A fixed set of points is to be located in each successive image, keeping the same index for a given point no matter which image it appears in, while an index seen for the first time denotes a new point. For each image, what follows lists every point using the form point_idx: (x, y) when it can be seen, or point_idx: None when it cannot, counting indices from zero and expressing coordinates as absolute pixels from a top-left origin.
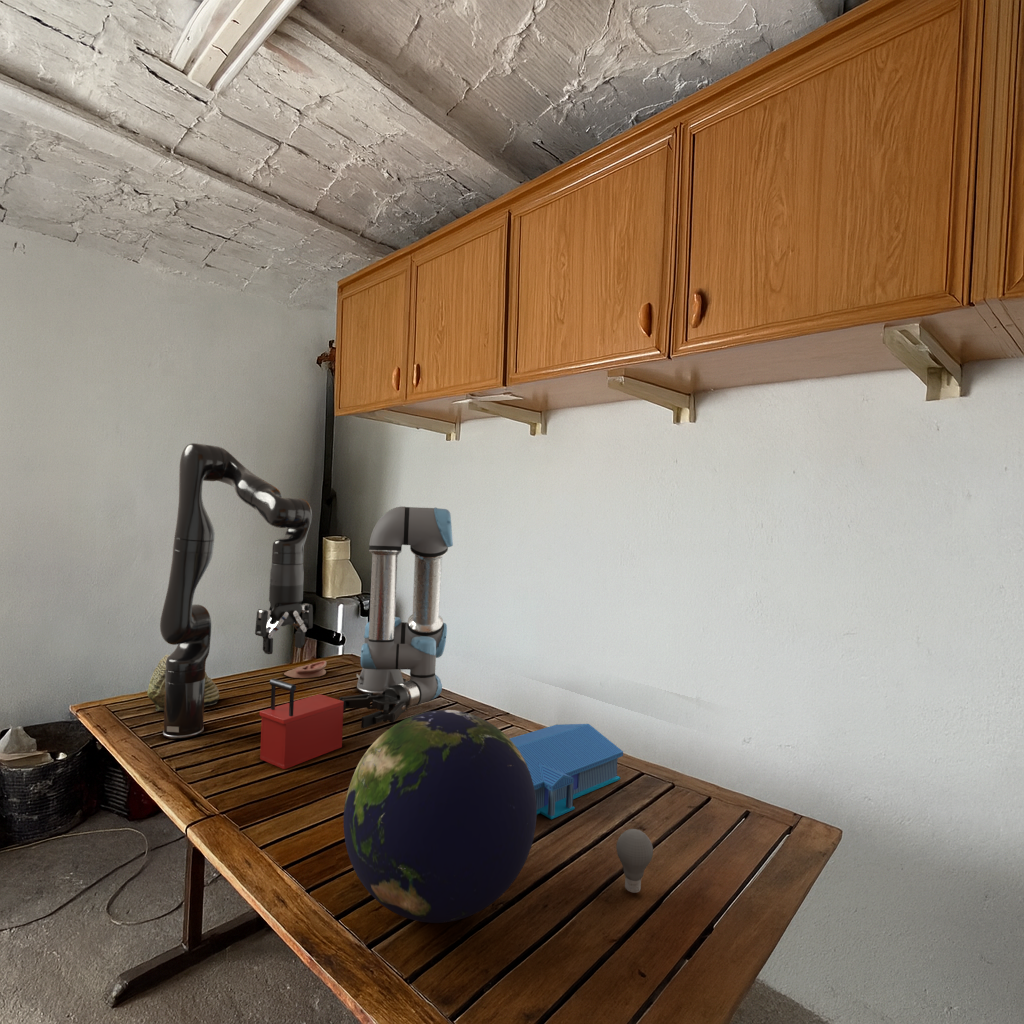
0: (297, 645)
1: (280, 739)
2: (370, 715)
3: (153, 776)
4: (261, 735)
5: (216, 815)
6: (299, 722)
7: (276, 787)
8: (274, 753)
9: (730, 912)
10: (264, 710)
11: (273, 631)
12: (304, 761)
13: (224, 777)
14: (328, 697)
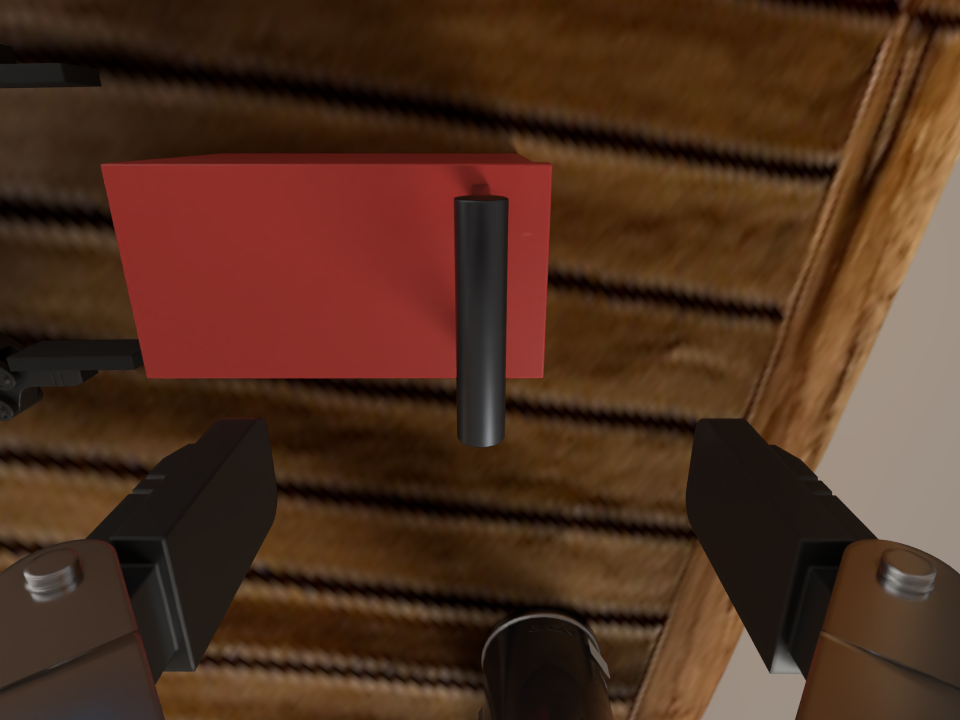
0: (264, 484)
1: None
2: (6, 65)
3: (800, 441)
4: None
5: (918, 6)
6: (443, 161)
7: (642, 32)
8: None
9: None
10: (520, 369)
11: (888, 638)
12: (420, 153)
13: (688, 267)
14: (139, 290)
